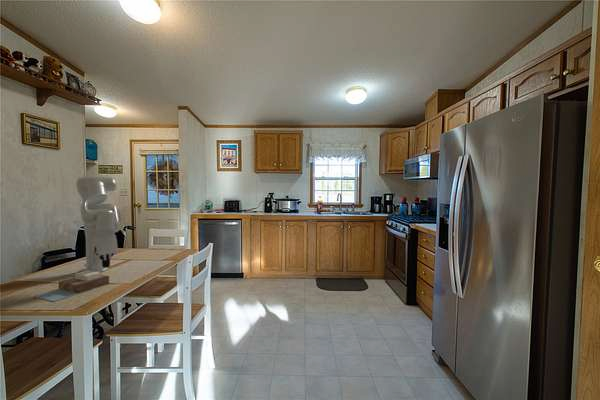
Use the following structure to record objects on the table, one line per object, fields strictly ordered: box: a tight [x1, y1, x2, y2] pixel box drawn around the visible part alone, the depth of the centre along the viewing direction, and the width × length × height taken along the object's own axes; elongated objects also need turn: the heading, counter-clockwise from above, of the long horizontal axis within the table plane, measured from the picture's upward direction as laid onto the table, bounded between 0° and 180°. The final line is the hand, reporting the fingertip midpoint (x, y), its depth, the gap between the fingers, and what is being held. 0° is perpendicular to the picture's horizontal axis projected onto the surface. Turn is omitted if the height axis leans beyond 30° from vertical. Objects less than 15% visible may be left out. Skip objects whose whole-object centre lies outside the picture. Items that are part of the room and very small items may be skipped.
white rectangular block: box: [74, 270, 101, 281], centre depth 126 cm, size 9×6×2 cm, turn 71°
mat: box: [33, 288, 79, 303], centre depth 114 cm, size 15×9×1 cm, turn 71°
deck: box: [58, 274, 110, 295], centre depth 125 cm, size 14×14×4 cm
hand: (106, 266), depth 134 cm, fingers closed
